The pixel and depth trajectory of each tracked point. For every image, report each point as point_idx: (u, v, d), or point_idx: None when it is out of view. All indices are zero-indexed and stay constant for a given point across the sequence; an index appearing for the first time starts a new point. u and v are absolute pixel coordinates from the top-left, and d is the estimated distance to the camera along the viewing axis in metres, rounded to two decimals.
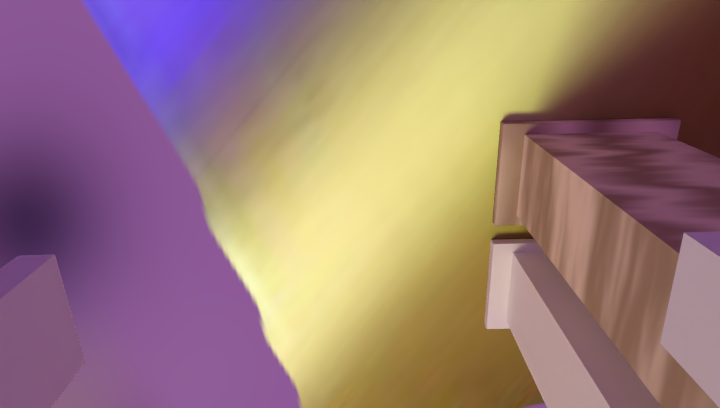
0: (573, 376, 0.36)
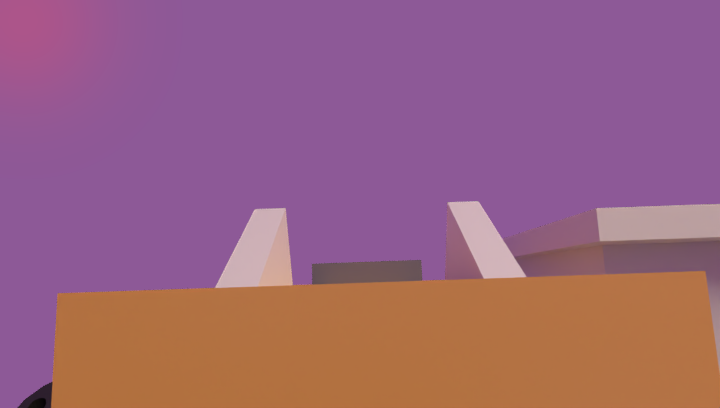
0: None
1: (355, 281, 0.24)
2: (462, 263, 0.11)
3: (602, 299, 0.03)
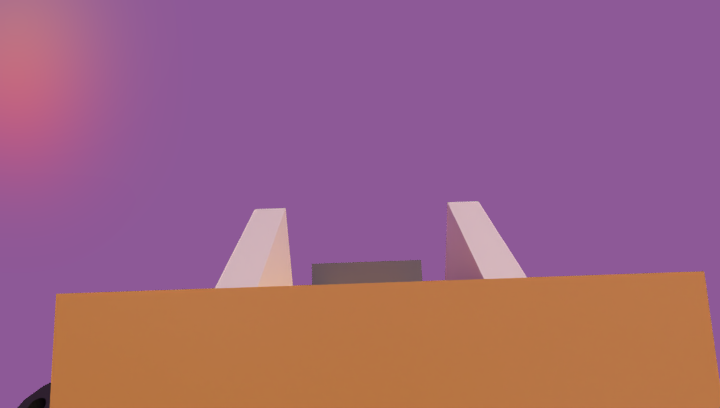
0: None
1: (355, 281, 0.24)
2: (462, 263, 0.11)
3: (601, 299, 0.03)
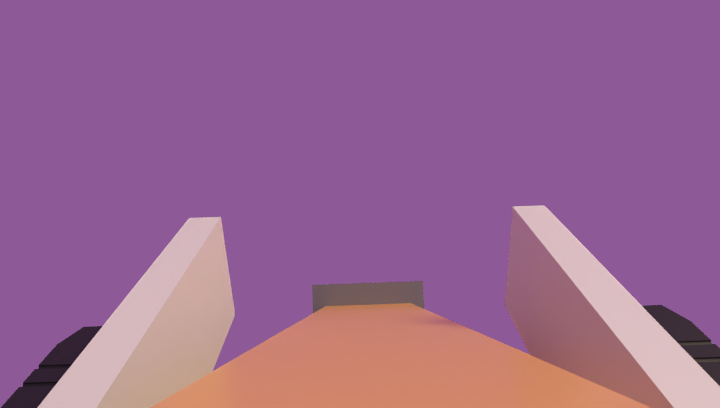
0: None
1: (356, 302, 0.24)
2: (538, 270, 0.10)
3: None
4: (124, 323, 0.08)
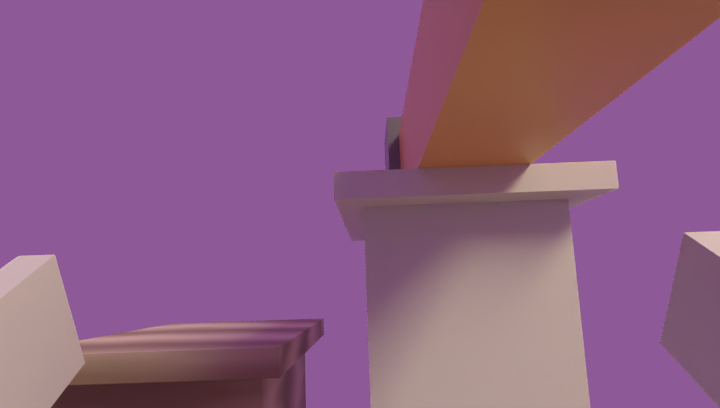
0: None
1: None
2: None
3: None
4: None
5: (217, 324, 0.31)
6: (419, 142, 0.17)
